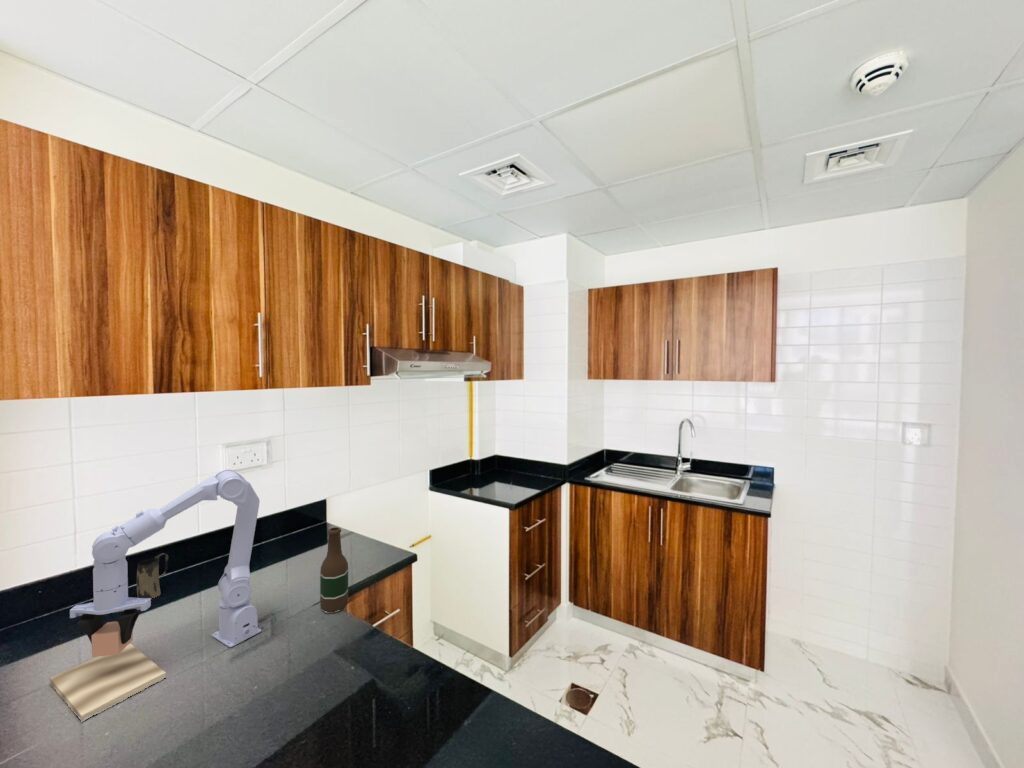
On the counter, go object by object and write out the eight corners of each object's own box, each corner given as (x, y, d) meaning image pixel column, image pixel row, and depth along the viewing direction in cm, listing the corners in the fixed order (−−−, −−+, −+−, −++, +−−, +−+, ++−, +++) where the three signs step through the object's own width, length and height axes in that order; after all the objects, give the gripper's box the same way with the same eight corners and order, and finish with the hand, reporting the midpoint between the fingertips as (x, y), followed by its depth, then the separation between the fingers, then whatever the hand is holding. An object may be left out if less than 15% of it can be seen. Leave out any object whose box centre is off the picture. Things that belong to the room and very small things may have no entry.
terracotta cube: (132, 640, 100) (132, 619, 100) (118, 654, 95) (118, 632, 95) (107, 643, 99) (107, 622, 99) (91, 657, 94) (91, 635, 94)
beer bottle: (320, 616, 121) (319, 535, 120) (320, 602, 128) (320, 526, 128) (348, 611, 124) (348, 531, 124) (347, 597, 132) (347, 522, 131)
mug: (143, 603, 127) (142, 564, 126) (132, 599, 129) (132, 560, 128) (172, 590, 134) (172, 553, 134) (162, 586, 136) (161, 550, 136)
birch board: (165, 678, 97) (165, 672, 97) (81, 722, 84) (81, 715, 84) (130, 648, 106) (129, 643, 106) (50, 684, 94) (49, 677, 94)
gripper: (158, 573, 102) (158, 628, 102) (86, 579, 98) (87, 636, 99) (139, 588, 95) (140, 647, 95) (61, 595, 91) (62, 656, 92)
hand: (112, 642), depth 97 cm, fingers closed on terracotta cube, 5 cm apart
